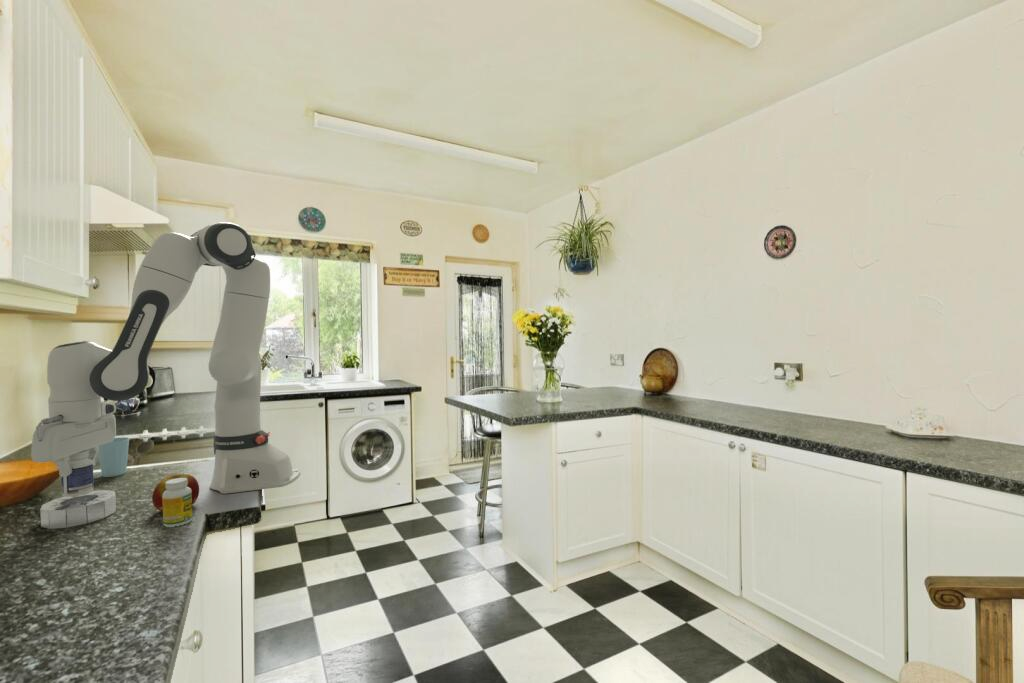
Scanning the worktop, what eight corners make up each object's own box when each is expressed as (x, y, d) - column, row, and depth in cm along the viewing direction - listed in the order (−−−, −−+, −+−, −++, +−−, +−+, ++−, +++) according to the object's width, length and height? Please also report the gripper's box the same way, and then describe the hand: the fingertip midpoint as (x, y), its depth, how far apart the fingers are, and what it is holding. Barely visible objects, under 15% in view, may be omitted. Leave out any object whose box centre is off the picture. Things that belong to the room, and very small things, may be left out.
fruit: (183, 516, 107) (181, 482, 107) (142, 518, 106) (141, 483, 106) (208, 501, 116) (206, 469, 116) (170, 502, 116) (169, 470, 116)
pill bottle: (100, 489, 110) (98, 448, 109) (76, 497, 104) (75, 455, 104) (79, 488, 110) (78, 448, 110) (55, 497, 105) (53, 454, 105)
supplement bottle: (169, 519, 105) (168, 477, 105) (196, 516, 107) (195, 475, 106) (158, 529, 100) (156, 485, 100) (187, 526, 101) (185, 482, 101)
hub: (128, 504, 115) (127, 487, 114) (90, 526, 102) (89, 506, 102) (71, 508, 113) (70, 491, 113) (25, 530, 100) (24, 511, 100)
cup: (124, 476, 138) (122, 441, 137) (92, 479, 135) (90, 444, 135) (135, 469, 145) (133, 436, 144) (105, 472, 142) (103, 438, 142)
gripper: (53, 419, 97) (56, 484, 97) (120, 404, 117) (123, 458, 118) (19, 421, 96) (22, 486, 96) (93, 405, 116) (95, 459, 117)
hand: (78, 470), depth 107 cm, fingers closed on pill bottle, 5 cm apart
